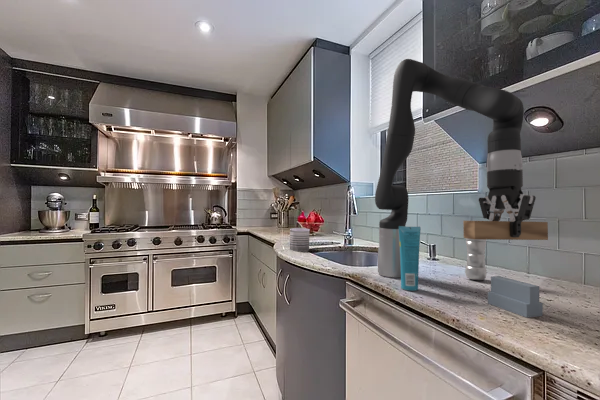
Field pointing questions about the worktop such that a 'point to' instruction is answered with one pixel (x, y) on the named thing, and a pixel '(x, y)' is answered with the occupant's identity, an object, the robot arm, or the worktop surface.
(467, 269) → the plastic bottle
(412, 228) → the tube
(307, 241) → the can
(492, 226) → the walnut bar
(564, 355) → the worktop surface
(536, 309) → the ridge
